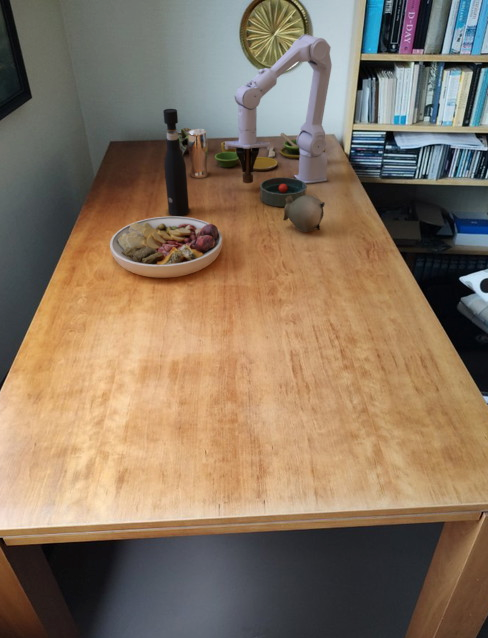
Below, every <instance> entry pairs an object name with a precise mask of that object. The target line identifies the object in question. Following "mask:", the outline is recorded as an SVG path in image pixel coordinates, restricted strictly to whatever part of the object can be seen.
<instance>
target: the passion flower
mask: <svg viewBox="0 0 488 638" xmlns="http://www.w3.org/2000/svg"><path fill="white" fill-rule="evenodd" d="M189 130H192V129H191V128H188V127H184V128H181V129H180V130H178V131H177V133H178V138H179V144H180V149H181V152H182V155H183V156H184V154H185V152H186V151H187V150H188V131H189Z"/></svg>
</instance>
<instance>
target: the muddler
mask: <svg viewBox="0 0 488 638" xmlns="http://www.w3.org/2000/svg"><path fill="white" fill-rule="evenodd" d="M244 166H245V172H242V177H241V178H242V183H243V184H252V183H254V172H251V148H250V149H244Z"/></svg>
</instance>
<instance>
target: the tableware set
mask: <svg viewBox="0 0 488 638" xmlns="http://www.w3.org/2000/svg"><path fill="white" fill-rule="evenodd" d="M280 136H281V137H282V139H284V140H285V141H284V142H283V146H284V147H281V148H280V149H279V153H280V154H281V155H282V156H283V157H285V158H288V159H297V160H299V158H300V151H299V147H298V146H297V142H296V140H297V139H290V138H289V137H288V135H286V134H285V133H284V132H280ZM226 141H227V140H225V141H222V142H221V143H220V148H221V151H220V152H217V153H215V155H214V156H213V157H214V159H215V160H216V162H217V163H218V165H219V166H220V167H222V168H234V167H236V166H237V165H238V162H240V160H239V158H238V156H237V154H236V149H225V142H226ZM251 150H252V149H251ZM274 150H275V147H274V146H270V150H268V156H267V157H266V156H257V158H256V160H255V163H254V167H253V171H259V172H261V171H263V172H264V171H270V170H273V169H274V168H276V167H277V166H278V165H279V162H278V160H277V159H275V156H276V151H274ZM323 152H324V153H325V154H326V147H325V149H324V151H323Z"/></svg>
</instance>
